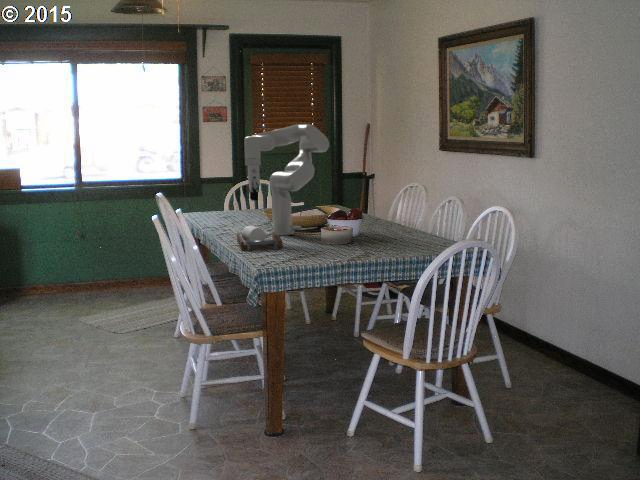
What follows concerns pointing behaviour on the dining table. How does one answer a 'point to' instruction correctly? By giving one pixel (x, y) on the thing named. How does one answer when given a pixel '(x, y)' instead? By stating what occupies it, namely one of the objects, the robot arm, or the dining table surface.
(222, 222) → the dining table surface
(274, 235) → the frame
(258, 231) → the mug
